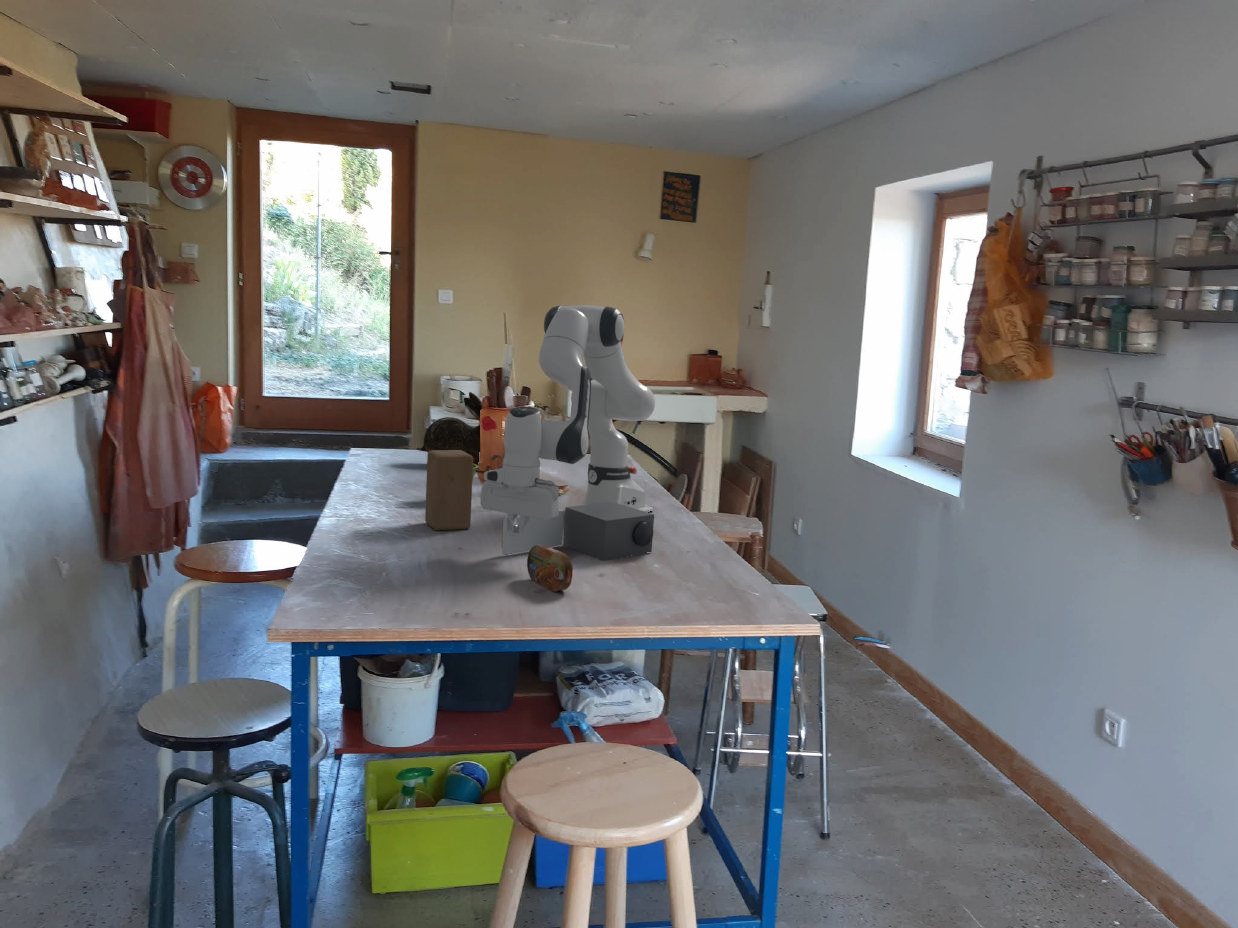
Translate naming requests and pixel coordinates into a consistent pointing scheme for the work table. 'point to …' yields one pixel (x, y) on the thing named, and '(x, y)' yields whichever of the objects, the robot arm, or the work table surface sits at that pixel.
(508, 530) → the door
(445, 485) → the wooden block
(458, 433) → the sculpture
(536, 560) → the tin
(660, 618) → the work table surface
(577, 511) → the cabinet body
